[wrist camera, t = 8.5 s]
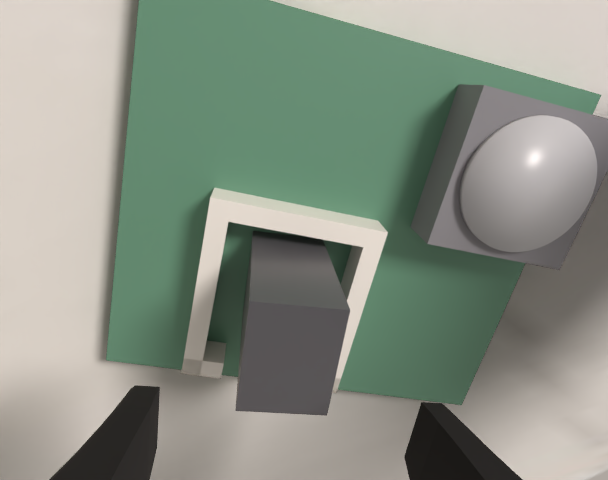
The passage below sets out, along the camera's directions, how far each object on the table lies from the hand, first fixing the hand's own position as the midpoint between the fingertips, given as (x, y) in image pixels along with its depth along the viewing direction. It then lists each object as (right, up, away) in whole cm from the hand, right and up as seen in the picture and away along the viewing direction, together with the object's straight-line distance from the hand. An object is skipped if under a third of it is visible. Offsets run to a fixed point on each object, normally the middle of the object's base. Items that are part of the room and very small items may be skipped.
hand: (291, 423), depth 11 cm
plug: (-1, +3, +7) cm, 8 cm away
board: (+2, +6, +8) cm, 10 cm away
